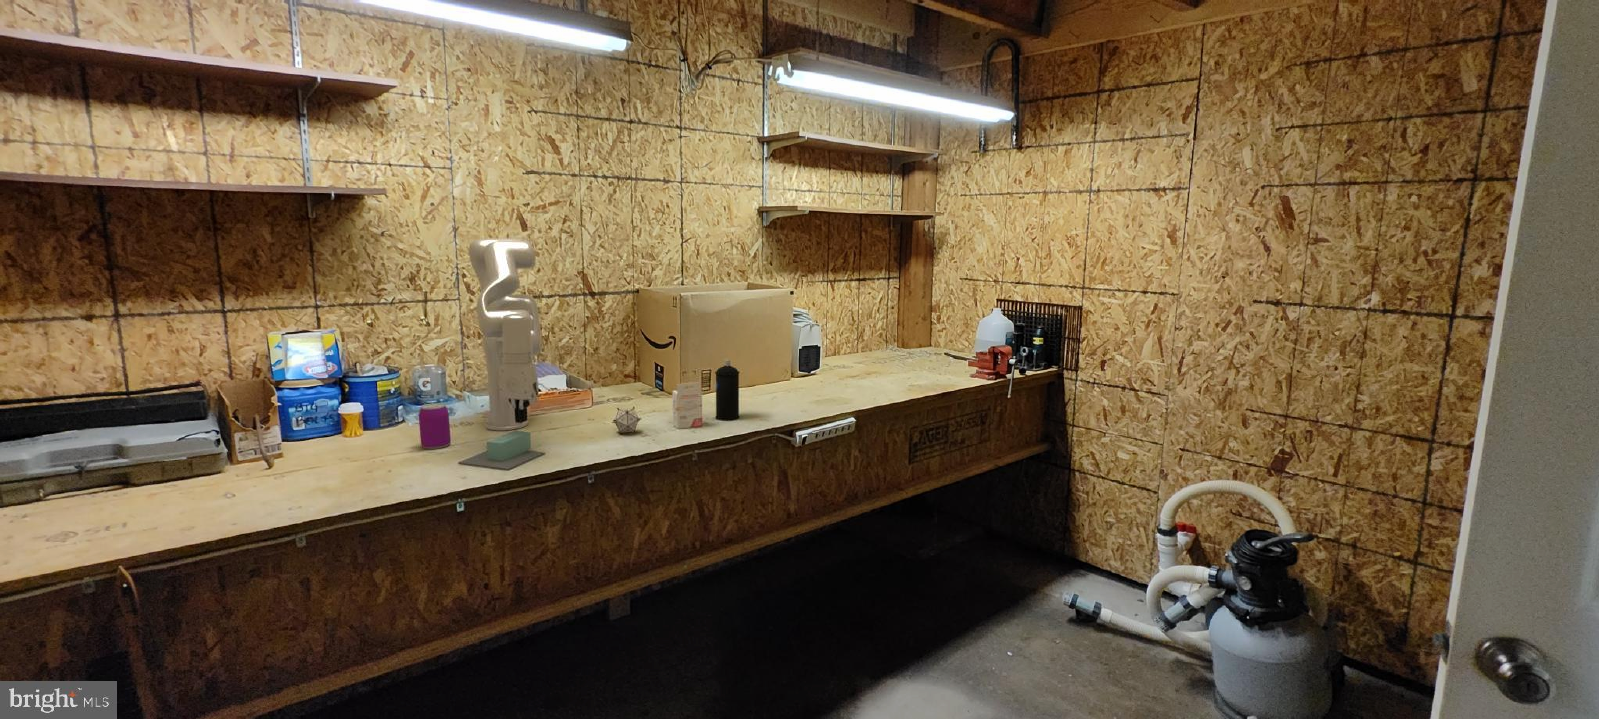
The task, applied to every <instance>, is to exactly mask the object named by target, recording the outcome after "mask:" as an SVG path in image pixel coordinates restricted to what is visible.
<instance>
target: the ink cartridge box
mask: <svg viewBox="0 0 1599 719" xmlns="http://www.w3.org/2000/svg"><path fill="white" fill-rule="evenodd" d="M686 387H690V388H686ZM691 387H692V388H691ZM672 417H673V419H672V420H673V427H675V428H676V429H678V430H680V429H681V430H682V429H689V428H696V427H703V423H704V422H703V392H702V383H701V381H697V382H685V383H684V382H683V383H678V384H676V390H672Z"/></svg>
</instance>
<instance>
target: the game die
mask: <svg viewBox="0 0 1599 719" xmlns="http://www.w3.org/2000/svg"><path fill="white" fill-rule="evenodd" d="M615 416H616V417H615V419H613V420H612V424H615V426H616V427H617V429H618V431H619V432H618V435H621V433H631V432H633V433H634V434H637V431H636V429H637V425H638V423H639V422H640V420H642V417H639V416H638V414H637V413H636V411H635V406H633V407H632V408H625V409H623V408H622V409H620V408H619V407H617V413H616V415H615Z"/></svg>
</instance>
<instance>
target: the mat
mask: <svg viewBox="0 0 1599 719" xmlns="http://www.w3.org/2000/svg"><path fill="white" fill-rule="evenodd" d="M545 454H546V452H543V451H537V450H528V451H526V452H523V453H521V454H519V455H516V456H514V457H512V458H509V459H507V460H505V461H497V460H489V459H487V450H486V451H483V452H480V453H477V454H475V455H473V456H471V457H468V458H465V459H462V460H460V461H458V462H457V463H458V464H459V465H462V466H463V465H464V466H473V467H479V468H484V469H485V468H487V469H495V470H499V471H502V470H503V471H510V470H513V469H515V468H517V467H520V466H522V465H524V464H526V463H528V462H530V461H533V460H535V459H537V458H540V457H542V456H543V455H545Z"/></svg>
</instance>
